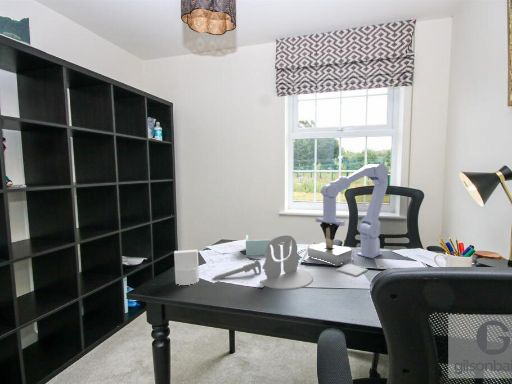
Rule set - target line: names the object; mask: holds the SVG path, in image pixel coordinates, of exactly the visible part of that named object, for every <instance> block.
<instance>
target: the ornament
mask: <svg viewBox="0 0 512 384" xmlns="http://www.w3.org/2000/svg"><path fill="white" fill-rule="evenodd" d="M280 244H282V249H281V245H280ZM271 246H272V247H271ZM272 250H273V255H272ZM281 250H282V252H281ZM281 255H282V256H281ZM264 257H265V260H264V263H263V265H262V266H261V270H262V269H263V270H264V271H263V272H264V275H265V276H266V279H261V280H260V281H259V283H260V284H261V283H262V284H261V285H263V286H264V285H265V286H264V287H267V288H271V289H274V290H281V291H283V290H284V291H285V290H287V291H288V290H289V291H290V290H298V289H303V288H306V287H307V286H310V285H311V284H312V283H313V281H314V276H313V275H312V274H311V272H309V271H307V270H305V269H303V268H300V269H298V267H299V264H300V262H299V261H300V260H301V256H300V255H299V253H298V244H297V241H296V240H295V238H294V237H293V236H291V235H287V234H283V235H282V234H281V235H277V236H275V237H273V238H271V240H270V242H269V244H268V246H267V248H266V252H265V255H264ZM273 257H274V258H275V260H274V259H273ZM282 259H283V260H282ZM276 260H278V261H276ZM281 260H282V261H281ZM282 262H283V263H282ZM282 265H283V268H282ZM282 269H283V272H284V273H283V274H281V273H282Z"/></svg>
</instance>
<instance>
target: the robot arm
mask: <svg viewBox="0 0 512 384" xmlns="http://www.w3.org/2000/svg"><path fill="white" fill-rule="evenodd" d="M389 172H390V170H389V169H388V167H387V166H386V165H385V164H384V163H377V164H375V163H373V164H372V163H369V164H366V165H364V166H363V167H361V168H360V169H358V170H356V171H355V172H353V173H352V174H350V175H348V176H345V175H344V176H342V175H340V176H338V178H337V179H336V180H333V181H330V182H329V184H325V185H323V186H322V187H321V189H320V194H321V195H322V205H323V206H322V208H323V209H322V210H323V211H322V215H323V216H322V217H315V223H320V224H319V226H320V228H321V229H322V233H323V236H324V239H325V240H326V228H328V227H329V229H330V239H331V240H333V241H334V240H335V237H336V234H337V231H338V229H339V228H340V227H344V226H345V221H344V220H340V219H337V197H338V195H339V193H341V192H343V191H345V190H346V189H348V188H350V187H351V186H352V185H351V184H352V183H354V182H356V181H358V180H361V179H362V178H364V177H367V178H369V180H370V181H372V183H373V184H374V186H373V191H372V193H371V198H370V201H369V205H368V208H367V212H366V215H365V216H364V217H362V218H361V221H360V223H359V224H358V225H357V226H358V227H357V231H358V233H359V234H360V252H359V251H358V252H357V253H356V255H358V256H361V257H362V256H363V257H366V258H371V259H373V258H376V257H378V256H380V255H382V252H380V251H381V249H380V248H381V243H380V242H381V240H380V238H379V236H380V234H381V224H382V223H381V221H380V220H379V217H380V213H381V209H382V206H383V204H384V203H383V202H384V200H385V195H386V192H387V189H388V185H389V177H388V175H389Z"/></svg>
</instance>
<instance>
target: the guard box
mask: <svg viewBox="0 0 512 384" xmlns="http://www.w3.org/2000/svg"><path fill="white" fill-rule="evenodd" d="M352 252H353V249H352V248H348V247H345V246H339V245H335V244H333V247H332V248H328V247H326V242H320V243H318V244H315V245H312V246H309V247H307V257H308V256H310V257H313V258H317V259H321V260H324V261H327V262H330V263H332V264H335V265H334V266H335V267H338V265H339V264H341V263H343V264H345V263H344V262H346V261H348V262H350V261H352V259H353V256H352V255H353V253H352ZM349 260H350V261H349ZM346 263H347V262H346ZM341 265H342V264H341ZM339 266H340V265H339Z"/></svg>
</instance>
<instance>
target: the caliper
mask: <svg viewBox="0 0 512 384" xmlns="http://www.w3.org/2000/svg"><path fill="white" fill-rule="evenodd" d="M253 261H254V262H251V263H249V264H245V265H243V266H241V267H239V268H236V269H232V270H230V271H225V272H224V273H220V274H217V275H215V276H214V277H212V278H211V280H212V279H218V280H221V279H220V278H222V279H224V278H227V277H230V276H234V275H237V274H239V273H243V272H245V273H248V272H251V270H252V271H253V272H254V274H255V275H257V274H258V273H259V274H261V273H262V265H261V262H260V260H258V258H256V260H255V259H254V260H253ZM256 268H257V269H256ZM257 270H258V273H257Z"/></svg>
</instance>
